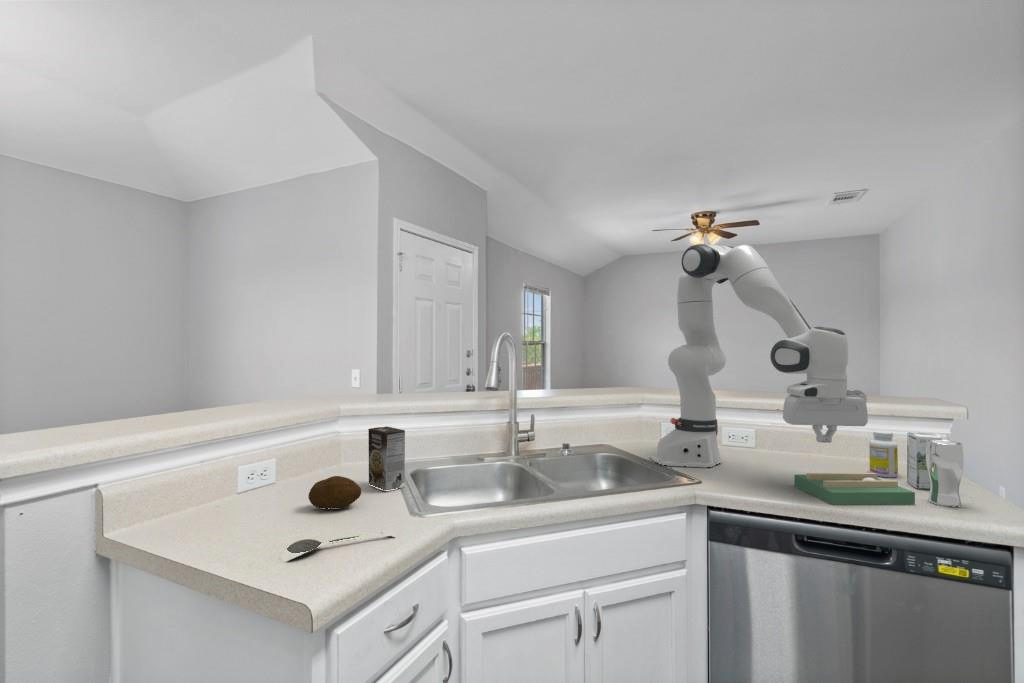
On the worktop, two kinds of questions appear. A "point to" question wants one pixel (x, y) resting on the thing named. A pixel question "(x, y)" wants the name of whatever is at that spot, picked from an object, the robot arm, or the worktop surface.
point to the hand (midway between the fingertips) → (823, 442)
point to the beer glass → (944, 471)
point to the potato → (334, 492)
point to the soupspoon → (308, 545)
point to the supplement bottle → (883, 454)
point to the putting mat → (854, 489)
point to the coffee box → (386, 457)
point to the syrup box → (918, 459)
